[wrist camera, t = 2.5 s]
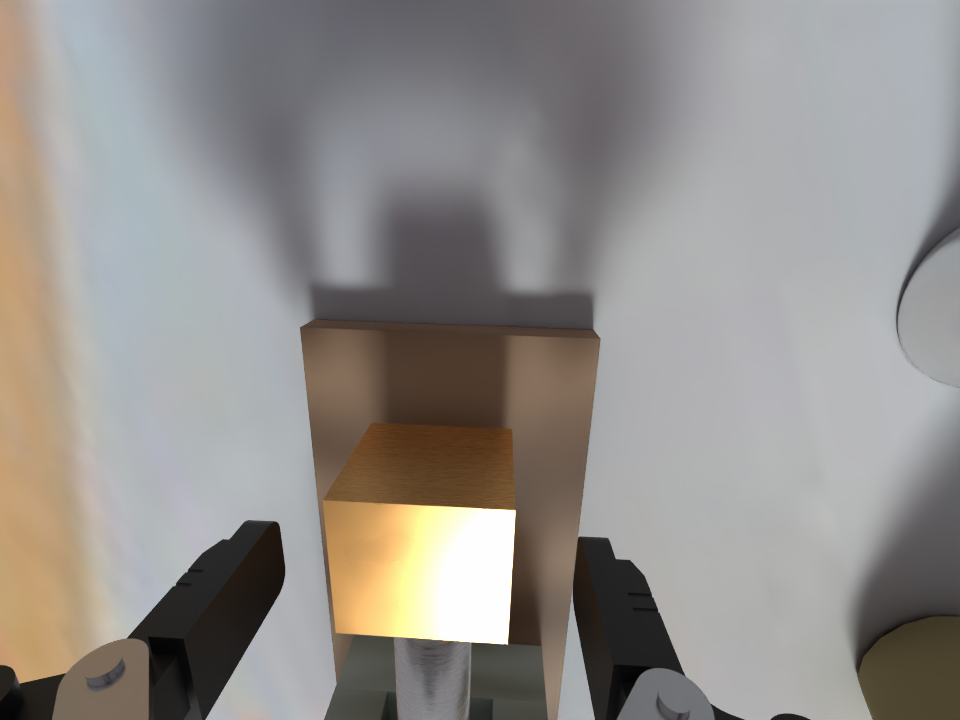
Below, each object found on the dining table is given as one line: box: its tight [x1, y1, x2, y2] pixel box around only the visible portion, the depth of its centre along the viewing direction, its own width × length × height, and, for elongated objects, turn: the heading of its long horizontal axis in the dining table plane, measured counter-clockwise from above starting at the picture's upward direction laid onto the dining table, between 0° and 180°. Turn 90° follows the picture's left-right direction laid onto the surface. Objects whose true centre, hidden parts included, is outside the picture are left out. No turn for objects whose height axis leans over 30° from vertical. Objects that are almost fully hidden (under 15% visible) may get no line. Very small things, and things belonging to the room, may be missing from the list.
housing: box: [300, 319, 600, 720], centre depth 16 cm, size 22×10×8 cm, turn 179°
